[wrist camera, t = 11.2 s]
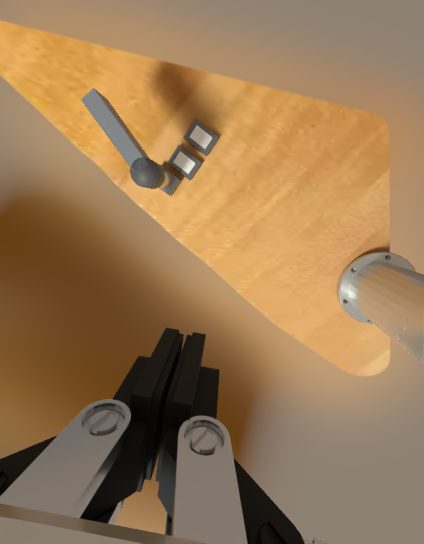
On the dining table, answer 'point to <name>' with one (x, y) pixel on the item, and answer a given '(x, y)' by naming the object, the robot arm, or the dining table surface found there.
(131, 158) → the swing bar
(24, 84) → the dining table surface
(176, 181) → the bar post
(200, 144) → the label plate
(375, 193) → the dining table surface
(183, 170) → the label plate
